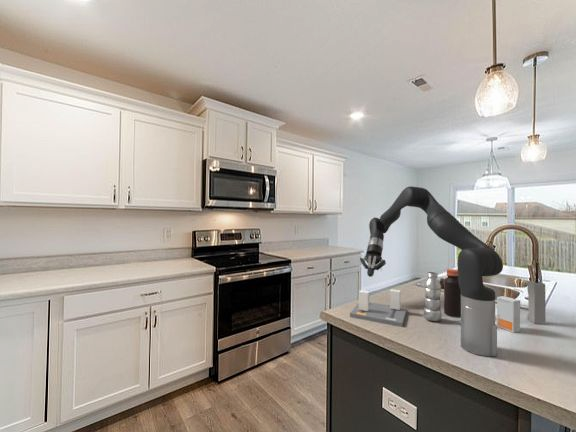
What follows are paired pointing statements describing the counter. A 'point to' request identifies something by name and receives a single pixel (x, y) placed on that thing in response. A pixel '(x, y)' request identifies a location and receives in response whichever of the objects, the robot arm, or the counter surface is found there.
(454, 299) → the vinegar
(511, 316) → the skincare box
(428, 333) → the counter surface
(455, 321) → the counter surface
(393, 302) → the tab inner
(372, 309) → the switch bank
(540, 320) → the vintage mobile phone
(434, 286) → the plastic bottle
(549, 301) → the counter surface
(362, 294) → the block
